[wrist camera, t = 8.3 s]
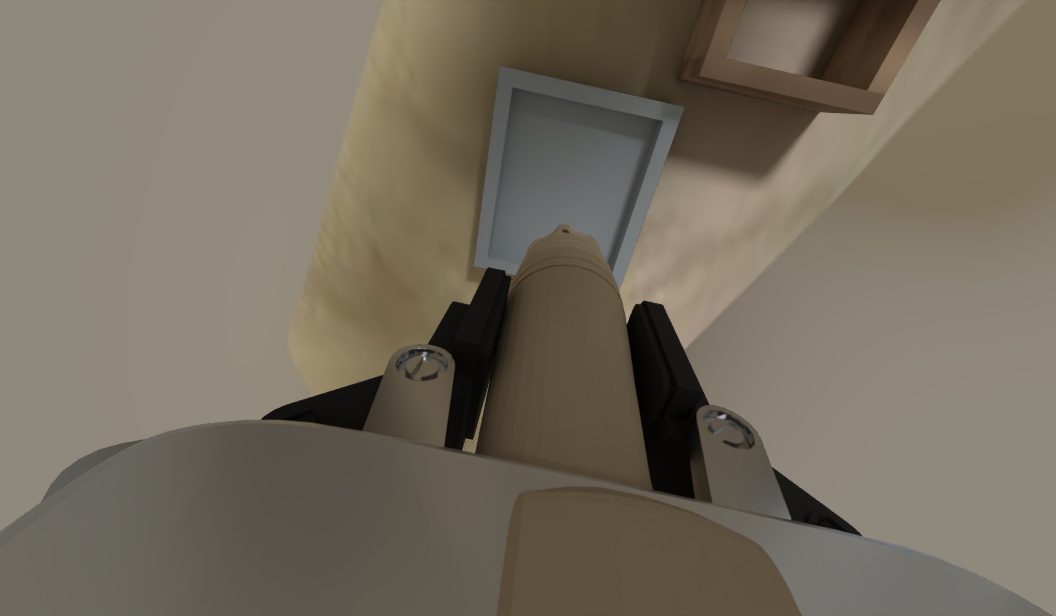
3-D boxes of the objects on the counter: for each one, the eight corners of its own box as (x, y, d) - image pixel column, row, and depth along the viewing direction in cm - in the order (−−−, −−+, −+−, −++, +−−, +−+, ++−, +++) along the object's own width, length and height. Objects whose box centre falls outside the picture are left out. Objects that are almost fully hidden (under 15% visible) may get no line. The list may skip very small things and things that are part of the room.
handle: (649, 216, 16) (1052, 786, 3) (578, 330, 19) (601, 853, 6) (546, 165, 15) (411, 580, 2) (489, 291, 18) (292, 780, 5)
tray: (505, 68, 26) (499, 65, 23) (674, 106, 26) (684, 107, 23) (479, 255, 32) (473, 266, 30) (613, 284, 33) (616, 297, 30)
